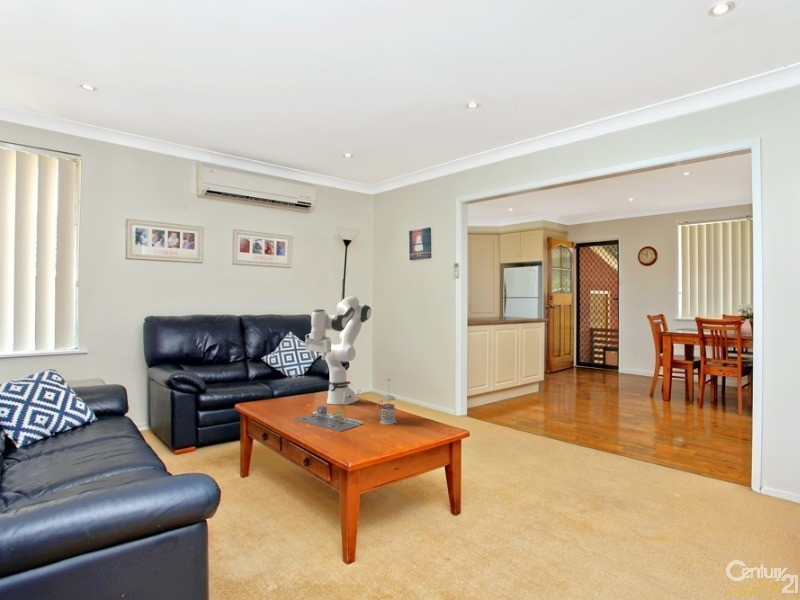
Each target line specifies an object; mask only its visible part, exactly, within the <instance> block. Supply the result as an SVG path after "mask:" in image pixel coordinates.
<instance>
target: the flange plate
mask: <svg viewBox="0 0 800 600" xmlns="http://www.w3.org/2000/svg"><path fill="white" fill-rule="evenodd" d="M295 421H299V422H301V423H306V424H310V425H314V426H318V427H321V428H325V429H330V430H332V431H337V432H340V433H341V432H344V431H346V430H351V429H353V427H354V428H357V427H359V426H360V425H357V424H353V423H349V422H344V421H340V420H336V419H332V418H328V417H323V416H319V415H317V414H313V413H312V414H309V415H305V416H301V417H298V418H297V417H296V418H295ZM356 426H357V427H356Z"/></svg>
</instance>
